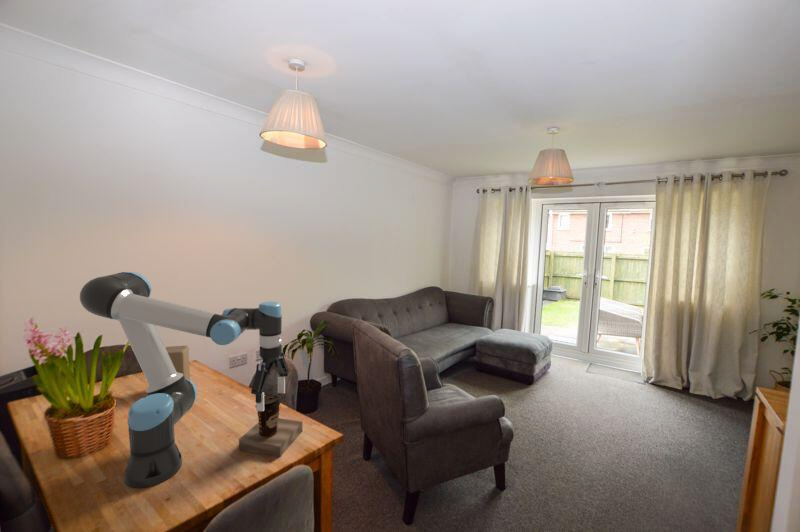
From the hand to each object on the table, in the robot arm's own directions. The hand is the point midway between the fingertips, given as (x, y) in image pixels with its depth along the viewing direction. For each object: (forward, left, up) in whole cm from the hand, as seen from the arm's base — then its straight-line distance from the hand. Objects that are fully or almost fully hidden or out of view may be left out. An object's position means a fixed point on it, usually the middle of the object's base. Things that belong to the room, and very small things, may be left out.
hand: (271, 401), depth 129 cm
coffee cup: (-2, 0, -11) cm, 12 cm away
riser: (0, 0, -15) cm, 15 cm away
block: (+25, +67, -15) cm, 73 cm away
